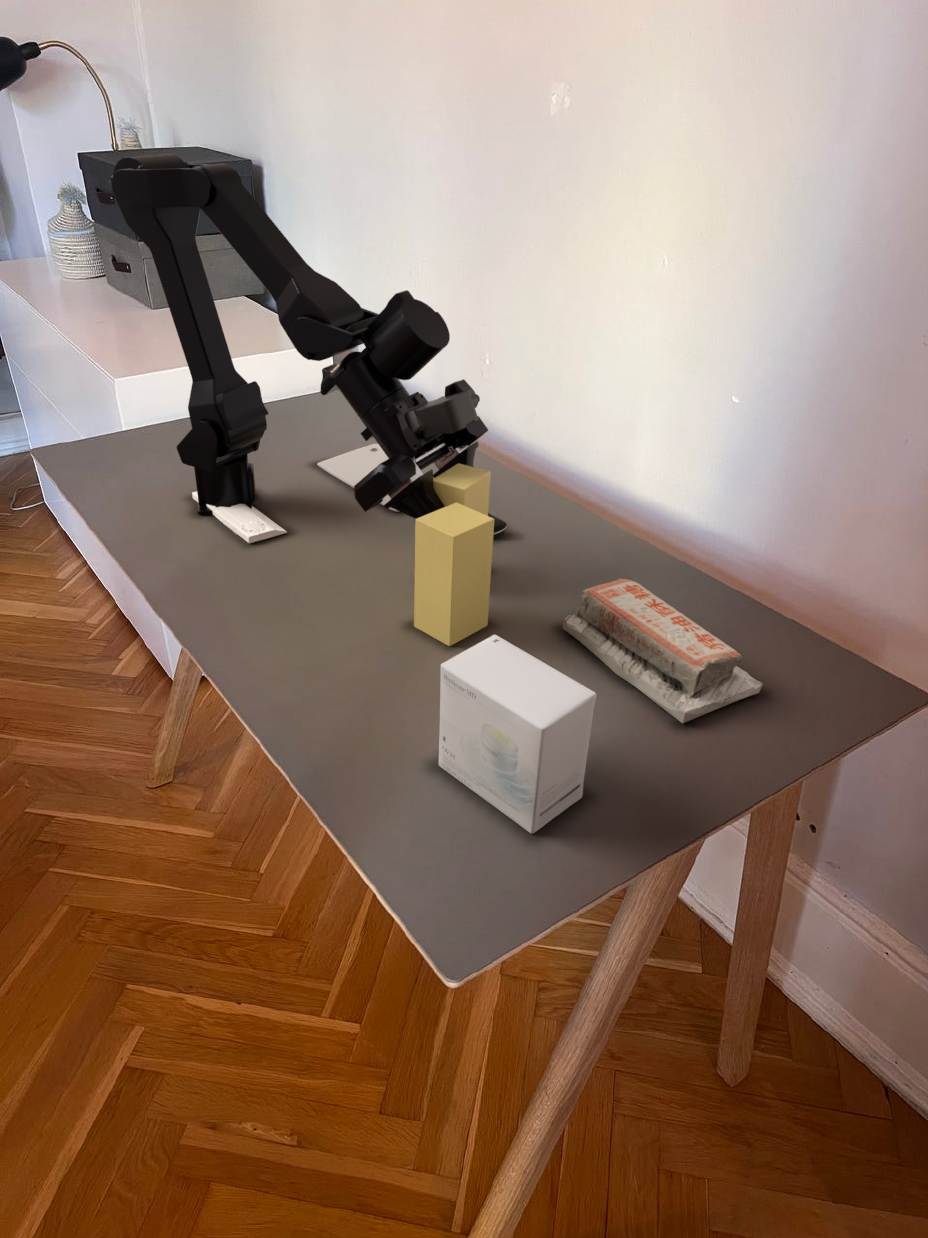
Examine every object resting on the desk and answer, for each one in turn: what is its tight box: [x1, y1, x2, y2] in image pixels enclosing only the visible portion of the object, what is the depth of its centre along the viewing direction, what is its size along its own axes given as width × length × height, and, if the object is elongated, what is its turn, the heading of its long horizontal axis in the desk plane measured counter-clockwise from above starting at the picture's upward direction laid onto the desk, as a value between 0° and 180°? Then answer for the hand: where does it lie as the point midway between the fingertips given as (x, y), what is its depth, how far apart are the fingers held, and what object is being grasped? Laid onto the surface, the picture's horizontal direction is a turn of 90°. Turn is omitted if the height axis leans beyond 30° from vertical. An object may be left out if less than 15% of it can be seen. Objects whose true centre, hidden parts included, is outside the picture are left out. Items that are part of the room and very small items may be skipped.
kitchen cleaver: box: [317, 443, 508, 539], centre depth 118 cm, size 31×2×10 cm
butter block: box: [413, 502, 494, 647], centre depth 89 cm, size 5×6×12 cm
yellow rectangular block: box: [433, 463, 492, 516], centre depth 98 cm, size 4×6×12 cm
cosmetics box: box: [438, 634, 598, 834], centre depth 70 cm, size 10×6×10 cm, turn 45°
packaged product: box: [562, 578, 764, 724], centre depth 87 cm, size 18×5×10 cm
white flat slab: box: [191, 490, 288, 544], centre depth 111 cm, size 5×15×1 cm, turn 39°
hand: (470, 526), depth 97 cm, fingers closed on yellow rectangular block, 6 cm apart
